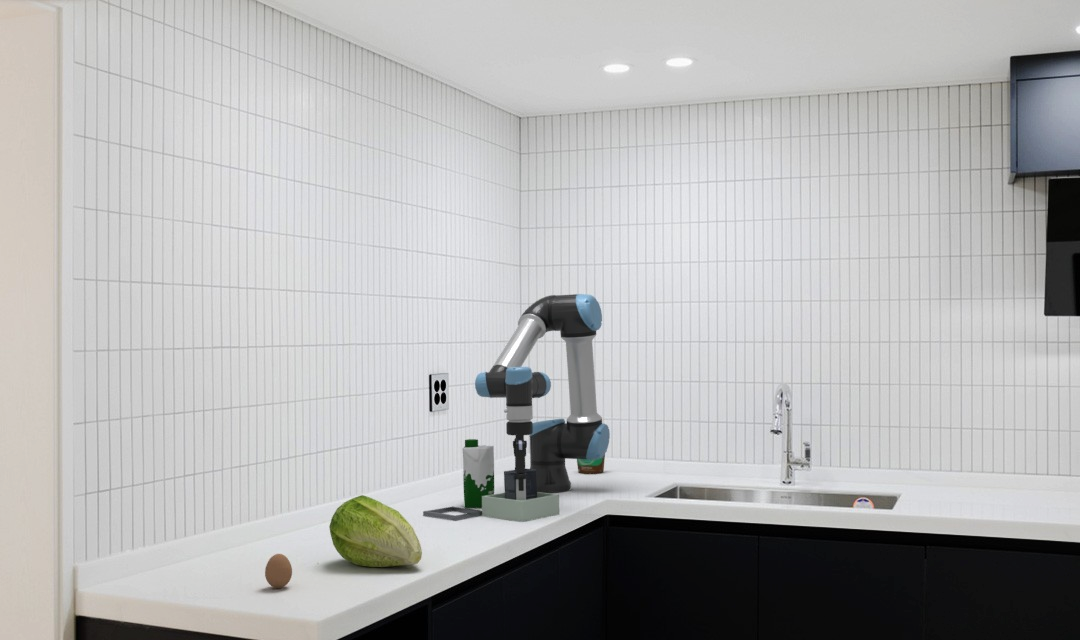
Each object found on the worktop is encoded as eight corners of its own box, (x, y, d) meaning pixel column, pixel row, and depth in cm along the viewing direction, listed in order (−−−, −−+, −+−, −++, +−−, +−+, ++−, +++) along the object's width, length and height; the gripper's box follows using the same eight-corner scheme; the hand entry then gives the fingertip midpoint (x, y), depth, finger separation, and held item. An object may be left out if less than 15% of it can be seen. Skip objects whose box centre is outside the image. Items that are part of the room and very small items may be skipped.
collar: (452, 510, 312) (452, 506, 312) (484, 515, 303) (484, 510, 303) (423, 515, 303) (423, 511, 303) (455, 520, 294) (455, 516, 294)
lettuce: (437, 580, 238) (385, 600, 226) (364, 536, 253) (311, 553, 241) (446, 520, 235) (394, 537, 223) (372, 478, 249) (319, 493, 237)
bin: (519, 508, 313) (519, 489, 313) (559, 514, 302) (558, 494, 302) (482, 515, 301) (481, 496, 301) (521, 521, 291) (521, 501, 291)
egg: (259, 590, 216) (259, 555, 216) (275, 584, 221) (275, 550, 221) (282, 592, 214) (281, 557, 214) (297, 585, 219) (297, 552, 219)
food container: (572, 474, 389) (571, 447, 389) (574, 472, 395) (574, 445, 395) (605, 474, 387) (605, 447, 387) (607, 472, 393) (606, 445, 393)
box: (524, 504, 306) (523, 468, 307) (538, 506, 302) (536, 469, 303) (504, 507, 301) (503, 470, 302) (517, 509, 297) (516, 471, 297)
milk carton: (468, 503, 324) (467, 438, 324) (497, 504, 322) (496, 438, 323) (460, 508, 315) (459, 441, 316) (490, 508, 314) (489, 441, 314)
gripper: (505, 418, 313) (506, 494, 313) (506, 424, 291) (508, 505, 291) (530, 417, 313) (532, 493, 313) (534, 423, 291) (535, 505, 291)
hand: (520, 499), depth 302 cm, fingers closed on box, 9 cm apart
